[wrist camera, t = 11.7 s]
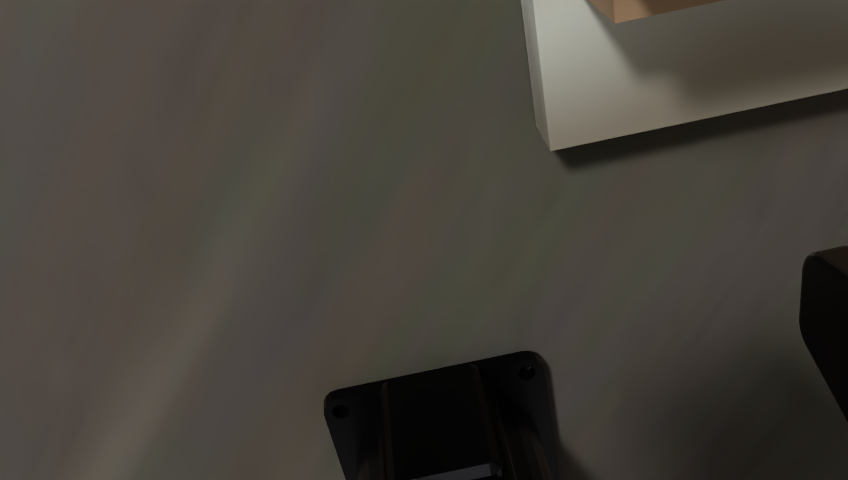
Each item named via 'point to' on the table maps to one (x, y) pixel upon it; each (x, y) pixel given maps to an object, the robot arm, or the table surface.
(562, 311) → the table surface
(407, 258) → the table surface
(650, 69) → the ridge stand
